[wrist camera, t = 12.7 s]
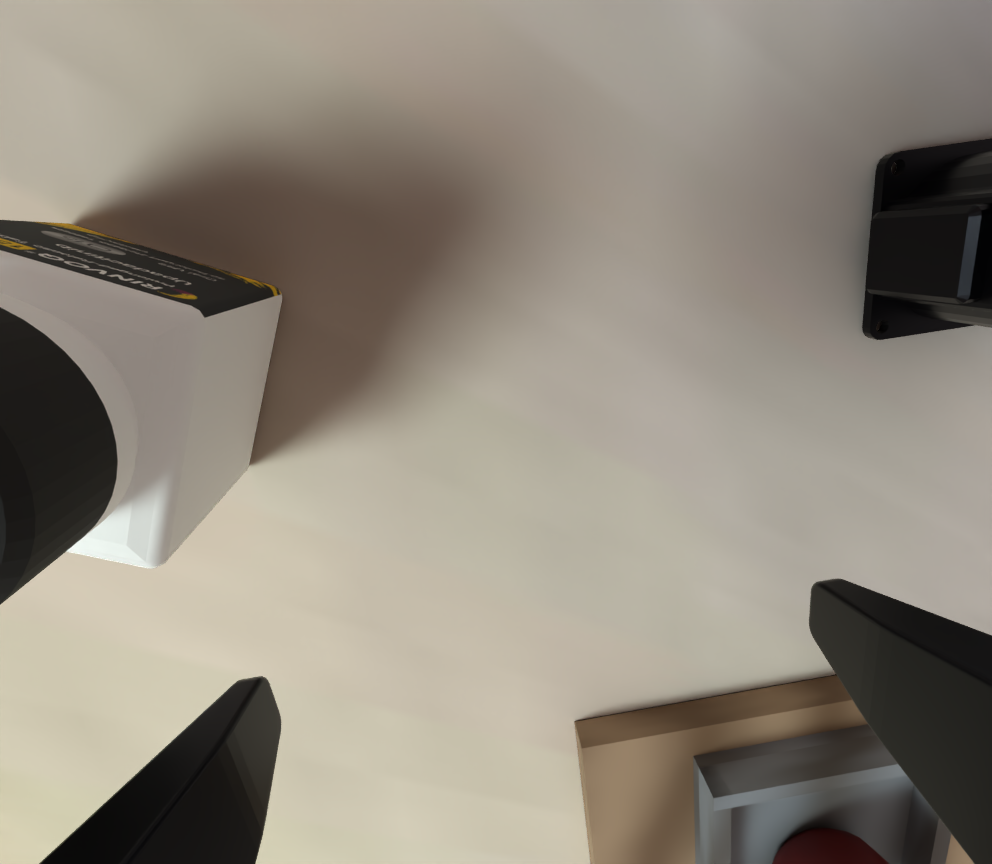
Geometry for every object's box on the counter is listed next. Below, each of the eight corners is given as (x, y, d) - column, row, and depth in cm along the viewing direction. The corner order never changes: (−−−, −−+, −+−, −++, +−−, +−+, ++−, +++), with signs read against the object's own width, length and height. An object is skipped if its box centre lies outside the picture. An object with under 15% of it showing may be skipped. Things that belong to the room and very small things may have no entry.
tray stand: (1008, 644, 27) (1087, 701, 24) (956, 883, 33) (1014, 956, 30) (574, 721, 27) (593, 791, 23) (601, 953, 33) (619, 1035, 29)
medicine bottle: (287, 288, 19) (58, 352, 8) (250, 471, 21) (25, 732, 10) (64, 220, 18) (-595, 179, 7) (47, 421, 20) (-479, 655, 9)
